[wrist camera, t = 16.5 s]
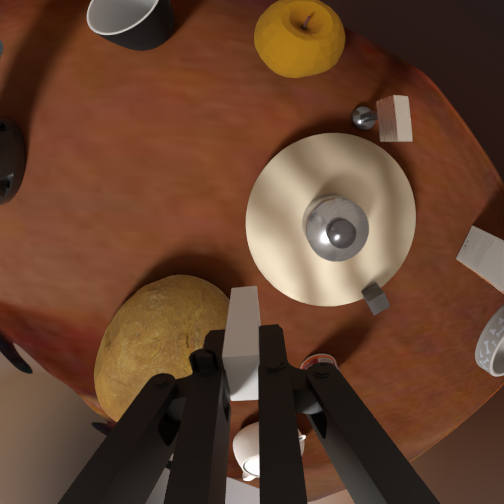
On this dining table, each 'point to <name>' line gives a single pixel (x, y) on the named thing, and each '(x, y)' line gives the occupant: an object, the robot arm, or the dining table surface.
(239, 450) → the teapot
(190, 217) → the dining table surface
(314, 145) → the platter
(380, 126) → the silver rod with block
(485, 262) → the small box
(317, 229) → the cover
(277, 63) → the apple
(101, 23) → the mug
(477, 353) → the dog bowl
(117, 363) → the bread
